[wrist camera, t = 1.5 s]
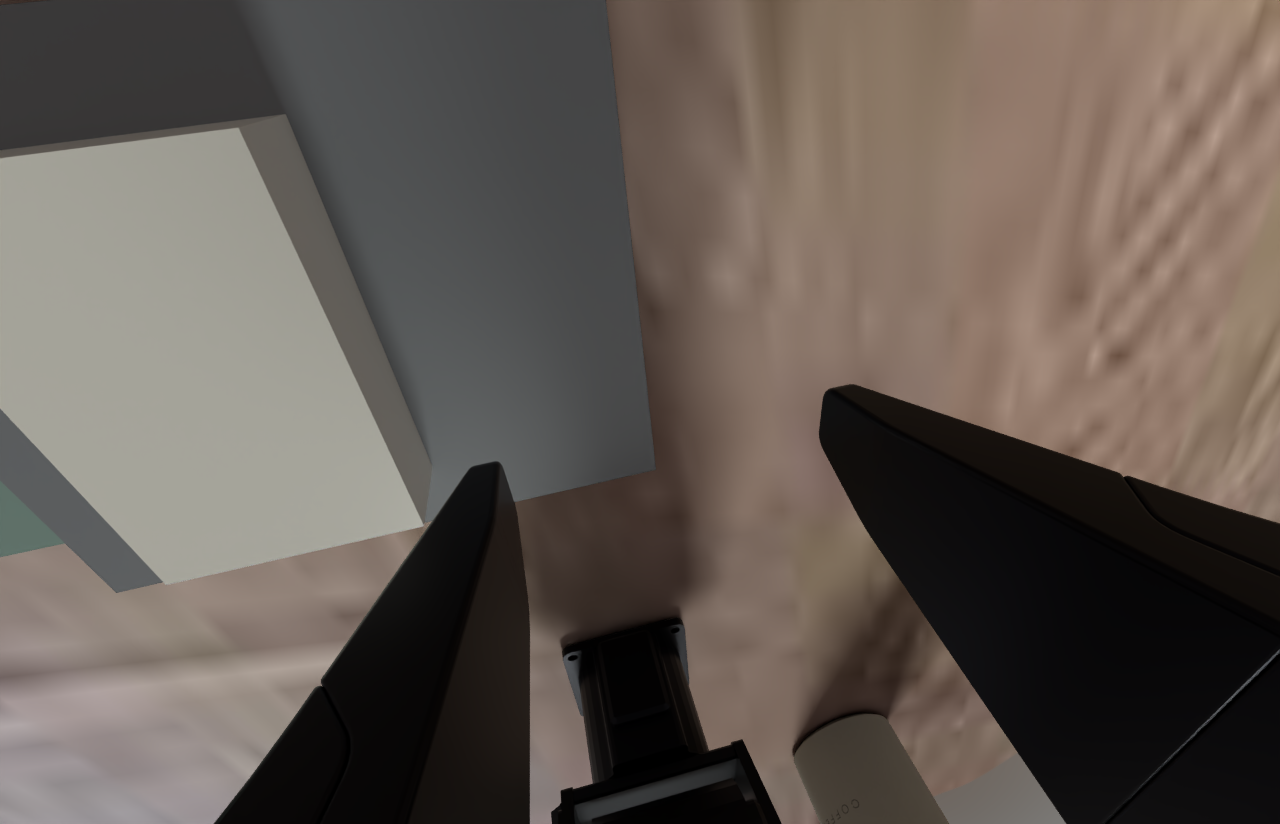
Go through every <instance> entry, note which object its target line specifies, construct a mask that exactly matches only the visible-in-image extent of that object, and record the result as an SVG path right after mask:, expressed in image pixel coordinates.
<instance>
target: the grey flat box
mask: <svg viewBox="0 0 1280 824" xmlns="http://www.w3.org/2000/svg"><path fill="white" fill-rule="evenodd" d="M282 114H286V116H287V118H288V121H289V123H290V126H291V128H292V130H293V133H294V135H295V138H296V140H297V142H298V145H299V147H300V150H301V152H302V154H303V157H304V159H305V162H306V164H307V167H308V169H309V171H310V174H311V176H312V179H313V181H314V183H315V186H316V188H317V191H318V193H319V195H320V198H321V200H322V203H323V205H324V207H325V210H326V212H327V215H328V217H329V219H330V222H331V224H332V227H333V229H334V231H335V234H336V236H337V239H338V241H339V243H340V246H341V248H342V251H343V253H344V255H345V258H346V260H347V263H348V265H349V267H350V270H351V272H352V275H353V277H354V279H355V282H356V284H357V287H358V289H359V291H360V294H361V296H362V299H363V301H364V303H365V306H366V308H367V311H368V313H369V316H370V318H371V320H372V323H373V325H374V328H375V330H376V332H377V335H378V337H379V340H380V342H381V344H382V347H383V349H384V352H385V354H386V356H387V359H388V361H389V364H390V366H391V368H392V371H393V373H394V376H395V378H396V380H397V383H398V385H399V388H400V390H401V392H402V395H403V397H404V400H405V402H406V404H407V407H408V409H409V412H410V414H411V416H412V419H413V421H414V424H415V426H416V428H417V431H418V433H419V436H420V438H421V440H422V443H423V445H424V448H425V450H426V453H427V455H428V457H429V460H430V462H431V465H432V474H431V481H430V488H429V495H428V502H427V509H426V516H425V522H429V521H433V519H434V518H435V516H436V515H437V513H438V512H439V511H440V509H441V508H442V506H443V505H444V503H445V502H446V501H447V499H448V498H449V496H450V495H451V493H452V492H453V491H454V489H455V488H456V486H457V485H458V483H459V482H460V481H461V479H462V478H463V476H464V475H465V474H466V472H467V471H468V469H469V468H471V467H472V466H475V465H480V464H484V463H489V462H494V461H498V462H500V463H501V464H502V466H503V469H504V472H505V475H506V478H507V481H508V484H509V487H510V490H511V494H512V497H513V500H514V502H517V501H521V500H526V499H530V498H534V497H539V496H543V495H548V494H552V493H556V492H561V491H565V490H570V489H574V488H578V487H583V486H587V485H592V484H596V483H600V482H605V481H609V480H613V479H618V478H622V477H627V476H631V475H635V474H640V473H644V472H649V471H653V470H656V466H655V457H654V448H653V438H652V429H651V419H650V410H649V401H648V391H647V382H646V373H645V363H644V354H643V344H642V335H641V326H640V316H639V307H638V298H637V288H636V279H635V269H634V260H633V251H632V241H631V232H630V223H629V213H628V204H627V194H626V185H625V176H624V166H623V157H622V148H621V138H620V129H619V119H618V110H617V101H616V91H615V82H614V73H613V63H612V54H611V45H610V35H609V26H608V16H607V7H606V0H47V1H37V2H26V3H16V4H5V5H0V150H6V149H14V148H22V147H30V146H38V145H46V144H54V143H61V142H69V141H77V140H85V139H93V138H101V137H109V136H117V135H124V134H132V133H140V132H148V131H156V130H164V129H172V128H179V127H187V126H195V125H203V124H211V123H219V122H227V121H235V120H242V119H250V118H258V117H266V116H274V115H282ZM0 481H1V482H2V483H3V484H4V485H5V486H6V487H7V488H8V489H9V490H10V491H11V492H12V493H13V494H14V495H16V496H17V497H18V498H19V499H20V500H21V501H22V502H23V503H24V504H25V505H26V506H27V507H28V508H29V509H30V510H31V511H32V512H33V513H34V514H35V515H36V516H37V517H38V518H39V519H40V520H41V521H42V522H43V523H45V524H46V525H47V526H48V527H49V528H50V529H51V530H52V531H53V532H54V533H55V534H56V535H57V536H58V537H59V538H60V539H61V540H62V541H63V542H64V543H65V544H66V545H67V546H68V547H69V548H70V549H71V550H72V551H74V552H75V553H76V554H77V555H78V556H79V557H80V558H81V559H82V560H83V561H84V562H85V563H86V564H87V565H88V566H89V567H90V568H91V569H92V570H93V571H94V572H95V573H96V574H97V575H98V576H99V577H100V578H101V579H103V580H104V581H105V582H106V583H107V584H108V585H109V586H110V587H111V588H112V589H113V590H114V591H115V592H116V593H118V592H122V591H127V590H131V589H135V588H140V587H144V586H149V585H153V584H157V583H162V582H163V581H162V580H161V579H160V578H159V577H158V576H157V575H156V574H155V573H154V572H153V571H152V570H151V569H150V567H149V566H148V565H147V564H146V563H145V562H144V561H143V560H142V559H141V558H140V557H139V556H138V555H137V554H136V553H135V552H134V550H133V549H132V548H131V547H130V546H129V545H128V544H127V543H126V542H125V541H124V540H123V539H122V538H121V537H120V536H119V534H118V533H117V532H116V531H115V530H114V529H113V528H112V527H111V526H110V525H109V524H108V523H107V522H106V521H105V520H104V519H103V517H102V516H101V515H100V514H99V513H98V512H97V511H96V510H95V509H94V508H93V507H92V506H91V505H90V504H89V503H88V501H87V500H86V499H85V498H84V497H83V496H82V495H81V494H80V493H79V492H78V491H77V490H76V489H75V488H74V487H73V486H72V484H71V483H70V482H69V481H68V480H67V479H66V478H65V477H64V476H63V475H62V474H61V473H60V472H59V471H58V470H57V468H56V467H55V466H54V465H53V464H52V463H51V462H50V461H49V460H48V459H47V458H46V457H45V456H44V455H43V454H42V453H41V451H40V450H39V449H38V448H37V447H36V446H35V445H34V444H33V443H32V442H31V441H30V440H29V439H28V438H27V437H26V436H25V434H24V433H23V432H22V431H21V430H20V429H19V428H18V427H17V426H16V425H15V424H14V423H13V422H12V421H11V420H10V418H9V417H8V416H7V415H6V414H5V413H4V412H3V411H2V410H1V409H0Z"/></svg>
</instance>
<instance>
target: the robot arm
mask: <svg viewBox="0 0 1280 824" xmlns="http://www.w3.org/2000/svg"><path fill="white" fill-rule="evenodd" d="M819 439H820V443H821V446H822V448H823V450H824V452H825V454H826V456H827V458H828V460H829V462H830V464H831V465H832V467H833V469H834V471H835V473H836V475H837V477H838V479H839V481H840V482H841V484H842V486H843V488H844V490H845V492H846V494H847V496H848V498H849V499H850V501H851V503H852V505H853V507H854V509H855V511H856V513H857V515H858V516H859V518H860V520H861V522H862V523H863V525H864V527H865V529H866V530H867V532H868V533H869V535H870V536H871V538H872V539H873V541H874V542H875V544H876V545H877V547H878V548H879V550H880V551H881V553H882V554H883V556H884V557H885V559H886V560H887V561H888V563H889V564H890V566H891V567H892V569H893V570H894V572H895V573H896V575H897V576H898V578H899V579H900V581H901V582H902V583H903V585H904V586H905V588H906V589H907V591H908V592H909V594H910V595H911V597H912V598H913V600H914V601H915V603H916V604H917V605H918V607H919V608H920V610H921V611H922V613H923V614H924V616H925V617H926V619H927V620H928V622H929V623H930V625H931V626H932V627H933V629H934V630H935V632H936V633H937V635H938V636H939V638H940V639H941V641H942V642H943V644H944V645H945V647H946V648H947V649H948V651H949V652H950V654H951V655H952V657H953V658H954V660H955V661H956V663H957V664H958V666H959V667H960V668H961V670H962V671H963V673H964V674H965V676H966V677H967V679H968V680H969V682H970V683H971V685H972V686H973V688H974V689H975V690H976V692H977V693H978V695H979V696H980V698H981V699H982V701H983V702H984V704H985V705H986V707H987V708H988V710H989V711H990V712H991V714H992V715H993V717H994V718H995V720H996V721H997V723H998V724H999V726H1000V727H1001V729H1002V730H1003V732H1004V733H1005V734H1006V736H1007V737H1008V739H1009V740H1010V742H1011V743H1012V745H1013V746H1014V748H1015V749H1016V751H1017V752H1018V754H1019V755H1020V756H1021V758H1022V759H1023V761H1024V762H1025V764H1026V765H1027V767H1028V768H1029V770H1030V771H1031V773H1032V774H1033V776H1034V777H1035V778H1036V780H1037V781H1038V783H1039V784H1040V786H1041V787H1042V789H1043V790H1044V792H1045V793H1046V795H1047V796H1048V798H1049V799H1050V800H1051V802H1052V803H1053V805H1054V806H1055V808H1056V809H1057V811H1058V812H1059V814H1060V815H1061V817H1062V818H1063V819H1064V821H1065V822H1066V824H1280V523H1277V522H1273V521H1270V520H1266V519H1263V518H1260V517H1256V516H1253V515H1249V514H1246V513H1243V512H1239V511H1236V510H1233V509H1229V508H1226V507H1223V506H1219V505H1216V504H1213V503H1210V502H1207V501H1204V500H1201V499H1198V498H1195V497H1191V496H1188V495H1185V494H1182V493H1179V492H1176V491H1173V490H1170V489H1166V488H1163V487H1160V486H1157V485H1154V484H1152V483H1149V482H1146V481H1143V480H1140V479H1137V478H1134V477H1131V476H1125V477H1123V476H1122V475H1121V474H1120V473H1118V472H1115V471H1112V470H1109V469H1106V468H1103V467H1100V466H1097V465H1094V464H1091V463H1088V462H1085V461H1082V460H1079V459H1076V458H1073V457H1070V456H1067V455H1064V454H1061V453H1058V452H1055V451H1052V450H1049V449H1046V448H1043V447H1040V446H1037V445H1034V444H1031V443H1028V442H1025V441H1022V440H1019V439H1016V438H1013V437H1010V436H1007V435H1004V434H1001V433H998V432H995V431H992V430H989V429H986V428H983V427H980V426H977V425H974V424H971V423H968V422H965V421H962V420H959V419H956V418H953V417H950V416H947V415H944V414H941V413H938V412H935V411H932V410H929V409H926V408H923V407H920V406H917V405H914V404H911V403H908V402H905V401H903V400H900V399H897V398H894V397H891V396H888V395H885V394H882V393H879V392H876V391H873V390H870V389H867V388H864V387H861V386H858V385H854V384H849V385H844V386H839V387H835V388H830V389H828V390H827V391H826V392H825V394H824V396H823V402H822V410H821V419H820V428H819ZM562 655H563V662H564V665H565V668H566V671H567V674H568V677H569V680H570V684H571V687H572V690H573V693H574V696H575V699H576V702H577V705H578V709H579V712H580V714H581V716H584V723H585V730H586V738H587V745H588V752H589V759H590V766H591V773H592V781H593V784H590V785H587V786H583V787H580V788H576V789H573V787H571V788H567V789H564V790H561V803H560V805H559V806H558V807H557V808H556V809H555V810H553V811H552V812H551V817H552V824H781V821H780V819H779V817H778V815H777V813H776V811H775V808H774V806H773V804H772V802H771V800H770V798H769V795H768V793H767V791H766V789H765V787H764V785H763V783H762V780H761V778H760V776H759V774H758V772H757V770H756V768H755V765H754V763H753V761H752V759H751V757H750V755H749V752H748V750H747V748H746V746H745V744H744V742H743V740H742V739H741V740H738V741H734V742H731V745H728V746H725V747H721V748H718V749H714V750H711V751H709V749H708V746H707V743H706V739H705V736H704V733H703V730H702V727H701V723H700V720H699V717H698V714H697V711H696V707H695V704H694V701H693V698H692V695H691V691H690V688H689V675H688V663H687V651H686V640H685V628H684V625H683V622H682V620H681V619H680V618H672V619H668V620H665V621H661V622H657V623H653V624H650V625H646V626H642V627H638V628H635V629H631V630H627V631H623V632H620V633H616V634H612V635H608V636H605V637H601V638H597V639H593V640H590V641H586V642H582V643H578V644H575V645H571V646H568V647H566V648H565V649H564V650H563V651H562ZM321 684H322V686H323V687H322V686H317V687H316V688H314V690H313V691H312V693H311V694H310V695H309V697H308V698H307V700H306V701H305V703H304V704H303V705H302V707H301V708H300V710H299V711H298V713H297V714H296V715H295V717H294V718H293V720H292V721H291V722H290V724H289V725H288V727H287V728H286V729H285V731H284V732H283V733H282V735H281V736H280V738H279V739H278V740H277V742H276V743H275V744H274V746H273V747H272V748H271V750H270V751H269V753H268V754H267V755H266V757H265V758H264V759H263V761H262V762H261V763H260V765H259V766H258V768H257V769H256V770H255V772H254V773H253V774H252V776H251V777H250V778H249V780H248V781H247V782H246V783H245V785H244V786H243V787H242V789H241V790H240V791H239V792H238V794H237V795H236V796H235V797H234V799H233V800H232V801H231V803H230V804H229V805H228V806H227V808H226V809H225V810H224V811H223V813H222V814H221V815H220V816H219V818H218V819H217V820H216V822H215V823H214V824H530V621H529V605H528V595H527V587H526V579H525V571H524V563H523V556H522V548H521V540H520V532H519V524H518V517H517V511H516V507H515V503H514V500H513V497H512V494H511V490H510V487H509V484H508V481H507V478H506V475H505V472H504V469H503V466H502V464H501V463H500V462H498V461H494V462H489V463H484V464H480V465H475V466H472V467H471V468H469V469H468V471H467V472H466V474H465V475H464V476H463V478H462V479H461V481H460V482H459V483H458V485H457V486H456V488H455V489H454V491H453V492H452V493H451V495H450V496H449V498H448V499H447V501H446V502H445V503H444V505H443V506H442V508H441V509H440V511H439V512H438V513H437V515H436V516H435V518H434V519H433V521H432V522H431V523H430V525H429V526H428V528H427V529H426V531H425V532H424V533H423V535H422V536H421V538H420V539H419V541H418V542H417V543H416V545H415V546H414V548H413V549H412V551H411V552H410V553H409V555H408V556H407V558H406V559H405V560H404V562H403V563H402V565H401V566H400V568H399V569H398V570H397V572H396V573H395V575H394V576H393V578H392V579H391V580H390V582H389V583H388V585H387V586H386V588H385V589H384V590H383V592H382V593H381V595H380V596H379V598H378V599H377V600H376V602H375V603H374V605H373V606H372V608H371V609H370V610H369V612H368V613H367V615H366V616H365V618H364V619H363V620H362V622H361V623H360V625H359V626H358V628H357V629H356V630H355V632H354V633H353V635H352V636H351V637H350V639H349V640H348V642H347V643H346V645H345V646H344V647H343V649H342V650H341V652H340V653H339V655H338V656H337V657H336V659H335V660H334V662H333V663H332V665H331V666H330V667H329V669H328V670H327V672H326V673H325V675H324V676H323V677H322V679H321Z"/></svg>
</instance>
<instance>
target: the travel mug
mask: <svg viewBox="0 0 1280 824" xmlns="http://www.w3.org/2000/svg"><path fill="white" fill-rule="evenodd" d="M794 763H795V765H796V768H797V770H798V772H799V775H800V777H801V779H802V782H803V784H804V786H805V789H806V791H807V793H808V796H809V798H810V800H811V803H812V805H813V807H814V810H815V812H816V814H817V817H818V819H819V821H820V824H949V823H948V821H947V819H946V818H945V816H944V814H943V813H942V811H941V809H940V808H939V806H938V804H937V803H936V801H935V799H934V798H933V796H932V794H931V792H930V791H929V789H928V787H927V786H926V784H925V782H924V781H923V779H922V777H921V776H920V774H919V772H918V771H917V769H916V767H915V766H914V764H913V762H912V761H911V759H910V757H909V756H908V754H907V752H906V750H905V749H904V747H903V745H902V744H901V742H900V740H899V739H898V737H897V735H896V734H895V732H894V730H893V729H892V727H891V725H890V724H889V722H888V720H887V719H886V718H885V717H883V716H881V715H877V714H865V713H861V714H854V715H850V716H846V717H842V718H839V719H836V720H834V721H831V722H830V723H828V724H826V725H824V726H822V727H821V728H819V729H817V730H816V731H814V732H813V733H812V734H811V735H810V736H808V737H807V738H806V739H805V740H804V741H803V743H802V744H801V746H800V747H799V748H798V750H797V751H796V753H795V756H794Z"/></svg>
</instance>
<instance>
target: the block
mask: <svg viewBox="0 0 1280 824" xmlns="http://www.w3.org/2000/svg"><path fill="white" fill-rule="evenodd" d="M0 409H1V410H2V411H3V412H4V413H5V414H6V415H7V416H8V417H9V418H10V420H11V421H12V422H13V423H14V424H15V425H16V426H17V427H18V428H19V429H20V430H21V431H22V432H23V433H24V434H25V436H26V437H27V438H28V439H29V440H30V441H31V442H32V443H33V444H34V445H35V446H36V447H37V448H38V449H39V450H40V451H41V453H42V454H43V455H44V456H45V457H46V458H47V459H48V460H49V461H50V462H51V463H52V464H53V465H54V466H55V467H56V468H57V470H58V471H59V472H60V473H61V474H62V475H63V476H64V477H65V478H66V479H67V480H68V481H69V482H70V483H71V484H72V486H73V487H74V488H75V489H76V490H77V491H78V492H79V493H80V494H81V495H82V496H83V497H84V498H85V499H86V500H87V501H88V503H89V504H90V505H91V506H92V507H93V508H94V509H95V510H96V511H97V512H98V513H99V514H100V515H101V516H102V517H103V519H104V520H105V521H106V522H107V523H108V524H109V525H110V526H111V527H112V528H113V529H114V530H115V531H116V532H117V533H118V534H119V536H120V537H121V538H122V539H123V540H124V541H125V542H126V543H127V544H128V545H129V546H130V547H131V548H132V549H133V550H134V552H135V553H136V554H137V555H138V556H139V557H140V558H141V559H142V560H143V561H144V562H145V563H146V564H147V565H148V566H149V567H150V569H151V570H152V571H153V572H154V573H155V574H156V575H157V576H158V577H159V578H160V579H161V580H162V581H163V582H164V583H165V584H166V585H169V584H173V583H178V582H182V581H186V580H191V579H195V578H200V577H204V576H208V575H213V574H217V573H221V572H226V571H230V570H235V569H239V568H243V567H248V566H252V565H256V564H261V563H265V562H269V561H274V560H278V559H283V558H287V557H291V556H296V555H300V554H304V553H309V552H313V551H318V550H322V549H326V548H331V547H335V546H339V545H344V544H348V543H353V542H357V541H361V540H366V539H370V538H374V537H379V536H383V535H387V534H392V533H396V532H401V531H405V530H409V529H414V528H418V527H422V526H424V523H425V516H426V509H427V502H428V495H429V488H430V481H431V474H432V465H431V462H430V460H429V457H428V455H427V453H426V450H425V448H424V445H423V443H422V440H421V438H420V436H419V433H418V431H417V428H416V426H415V424H414V421H413V419H412V416H411V414H410V412H409V409H408V407H407V404H406V402H405V400H404V397H403V395H402V392H401V390H400V388H399V385H398V383H397V380H396V378H395V376H394V373H393V371H392V368H391V366H390V364H389V361H388V359H387V356H386V354H385V352H384V349H383V347H382V344H381V342H380V340H379V337H378V335H377V332H376V330H375V328H374V325H373V323H372V320H371V318H370V316H369V313H368V311H367V308H366V306H365V303H364V301H363V299H362V296H361V294H360V291H359V289H358V287H357V284H356V282H355V279H354V277H353V275H352V272H351V270H350V267H349V265H348V263H347V260H346V258H345V255H344V253H343V251H342V248H341V246H340V243H339V241H338V239H337V236H336V234H335V231H334V229H333V227H332V224H331V222H330V219H329V217H328V215H327V212H326V210H325V207H324V205H323V203H322V200H321V198H320V195H319V193H318V191H317V188H316V186H315V183H314V181H313V179H312V176H311V174H310V171H309V169H308V167H307V164H306V162H305V159H304V157H303V154H302V152H301V150H300V147H299V145H298V142H297V140H296V138H295V135H294V133H293V130H292V128H291V126H290V123H289V121H288V118H287V116H286V114H282V115H274V116H266V117H258V118H250V119H242V120H235V121H227V122H219V123H211V124H203V125H195V126H187V127H179V128H172V129H164V130H156V131H148V132H140V133H132V134H124V135H117V136H109V137H101V138H93V139H85V140H77V141H69V142H61V143H54V144H46V145H38V146H30V147H22V148H14V149H6V150H0Z"/></svg>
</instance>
